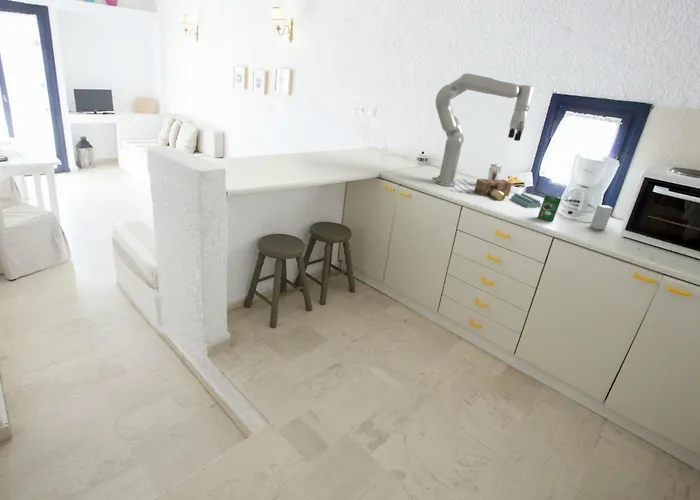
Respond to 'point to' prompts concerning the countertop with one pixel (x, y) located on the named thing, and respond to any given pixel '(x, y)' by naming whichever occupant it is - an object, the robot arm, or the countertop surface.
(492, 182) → the beam
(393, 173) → the countertop surface
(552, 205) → the coffee box
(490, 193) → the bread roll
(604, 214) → the skincare box
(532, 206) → the v block
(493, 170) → the beer glass
